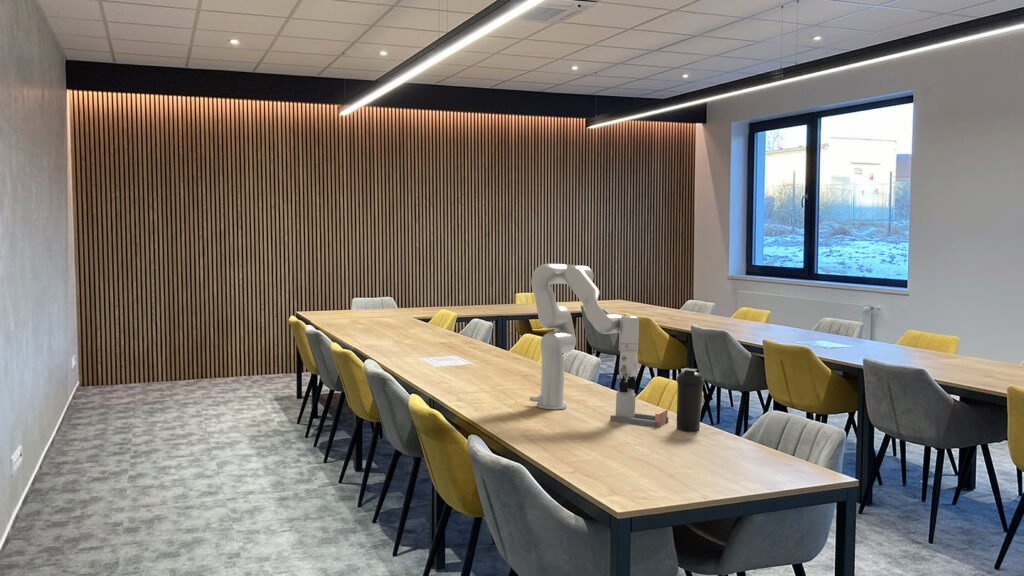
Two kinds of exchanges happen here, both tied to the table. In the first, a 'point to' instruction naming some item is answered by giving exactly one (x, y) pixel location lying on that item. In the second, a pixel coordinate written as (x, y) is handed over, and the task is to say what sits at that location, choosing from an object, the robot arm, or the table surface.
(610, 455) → the table surface
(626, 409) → the can
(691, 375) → the water bottle
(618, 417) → the channel
